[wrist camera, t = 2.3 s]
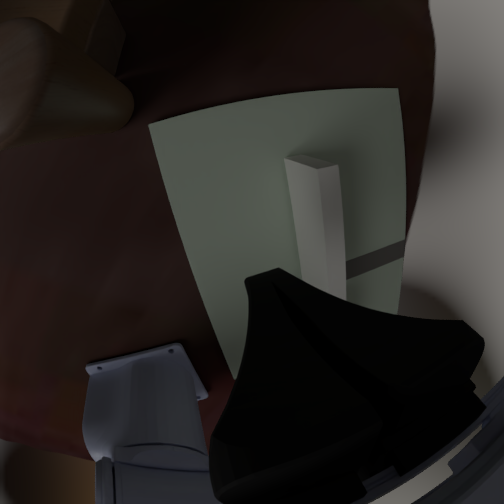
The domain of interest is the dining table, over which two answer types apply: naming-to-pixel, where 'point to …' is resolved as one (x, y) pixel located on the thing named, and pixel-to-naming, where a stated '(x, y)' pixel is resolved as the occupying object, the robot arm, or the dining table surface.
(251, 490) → the robot arm
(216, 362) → the dining table surface
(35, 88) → the wooden toy
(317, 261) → the fence panel
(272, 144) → the board
